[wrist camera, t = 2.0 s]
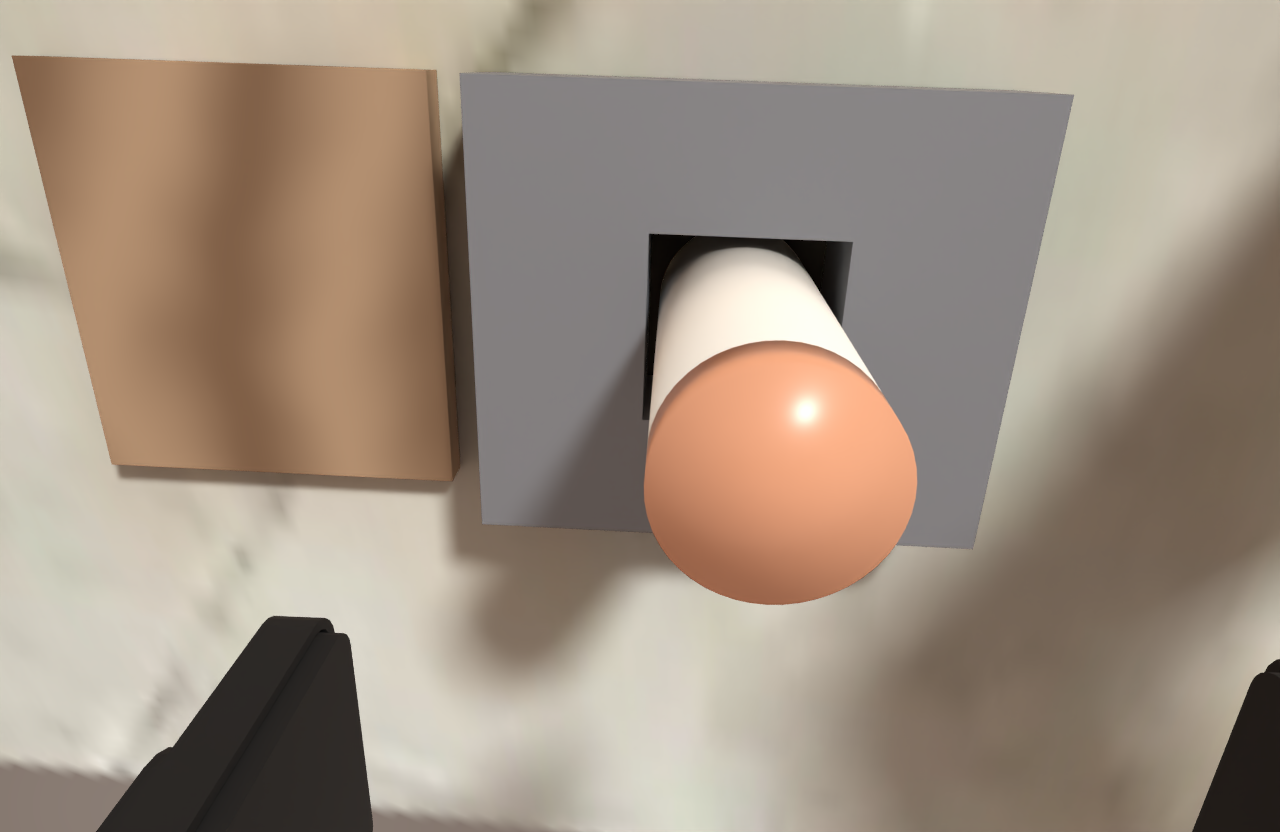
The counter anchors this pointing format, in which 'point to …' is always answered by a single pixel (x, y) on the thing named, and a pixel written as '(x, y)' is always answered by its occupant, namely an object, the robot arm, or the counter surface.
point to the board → (254, 261)
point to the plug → (767, 431)
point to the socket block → (753, 208)
